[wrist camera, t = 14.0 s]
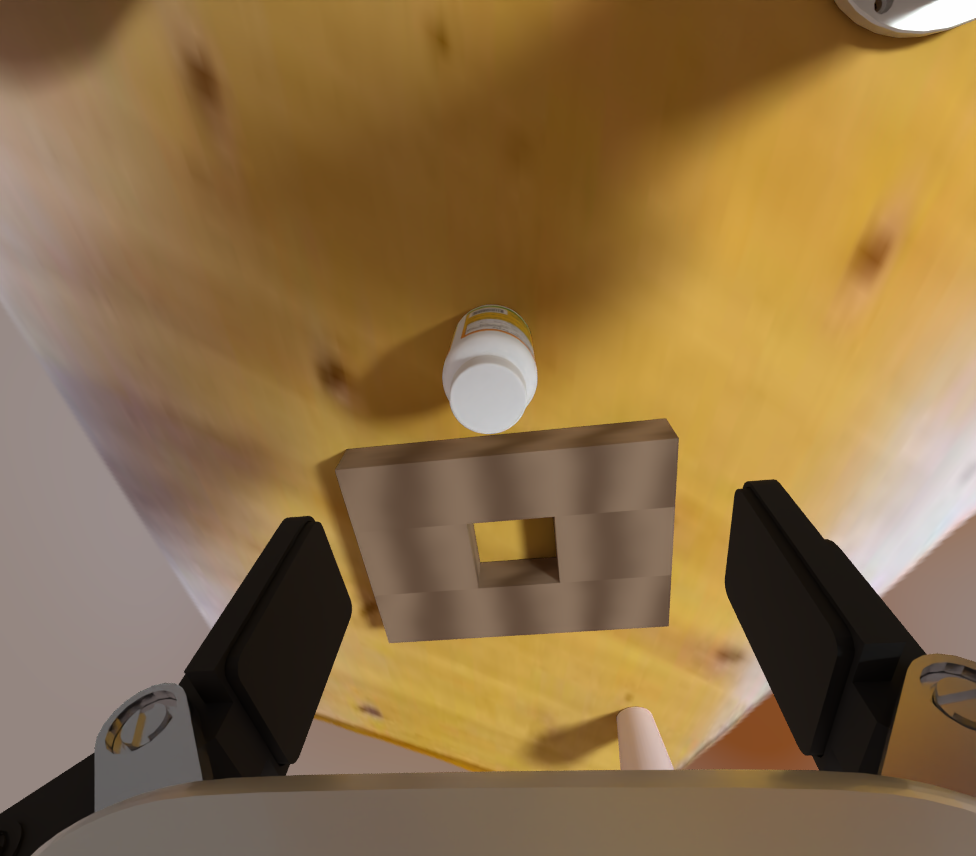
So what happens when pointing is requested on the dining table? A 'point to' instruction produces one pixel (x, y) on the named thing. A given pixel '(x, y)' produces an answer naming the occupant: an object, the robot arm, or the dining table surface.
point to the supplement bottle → (490, 369)
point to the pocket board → (513, 496)
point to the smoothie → (640, 741)
